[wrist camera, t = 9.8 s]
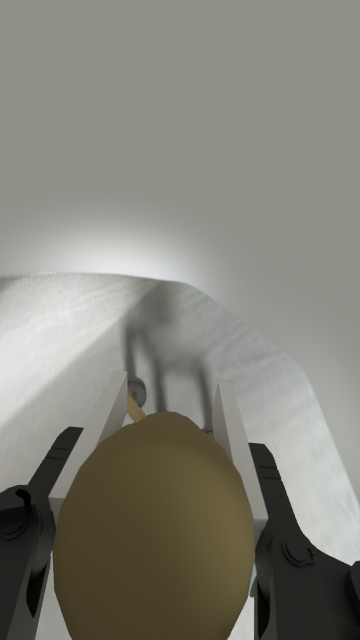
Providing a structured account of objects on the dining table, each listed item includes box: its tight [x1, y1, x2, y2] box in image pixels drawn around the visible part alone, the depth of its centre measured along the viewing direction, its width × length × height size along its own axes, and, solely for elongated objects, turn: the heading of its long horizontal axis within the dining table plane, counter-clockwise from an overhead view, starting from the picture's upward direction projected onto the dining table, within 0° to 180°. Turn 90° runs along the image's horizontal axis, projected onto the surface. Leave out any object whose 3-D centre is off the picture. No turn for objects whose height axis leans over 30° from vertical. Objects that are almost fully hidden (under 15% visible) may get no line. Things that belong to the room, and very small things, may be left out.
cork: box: [52, 411, 255, 640], centre depth 10 cm, size 6×6×11 cm
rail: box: [127, 382, 214, 440], centre depth 25 cm, size 15×8×9 cm, turn 80°
